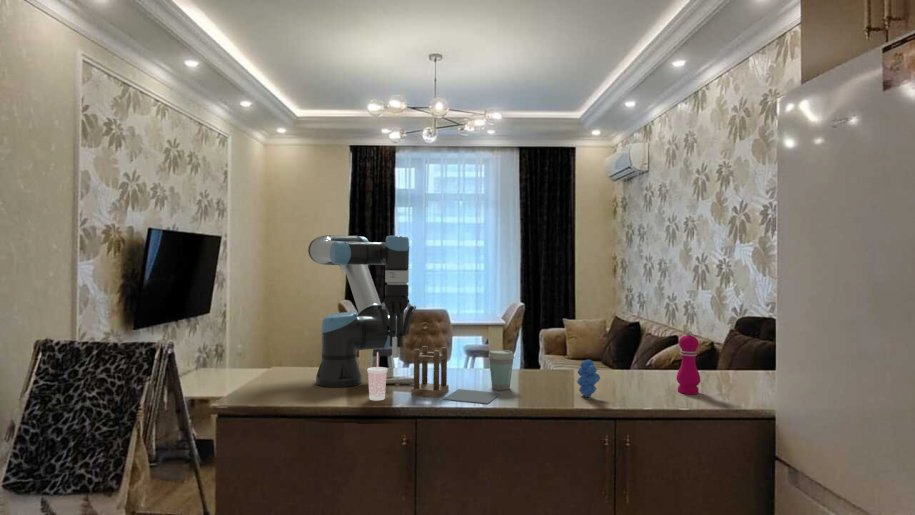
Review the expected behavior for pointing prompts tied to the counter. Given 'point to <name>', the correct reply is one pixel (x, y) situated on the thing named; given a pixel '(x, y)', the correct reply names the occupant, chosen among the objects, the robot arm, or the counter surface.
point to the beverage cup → (377, 382)
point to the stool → (425, 387)
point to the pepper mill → (688, 365)
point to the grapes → (587, 378)
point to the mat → (472, 396)
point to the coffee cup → (501, 368)
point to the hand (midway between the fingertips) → (396, 356)
